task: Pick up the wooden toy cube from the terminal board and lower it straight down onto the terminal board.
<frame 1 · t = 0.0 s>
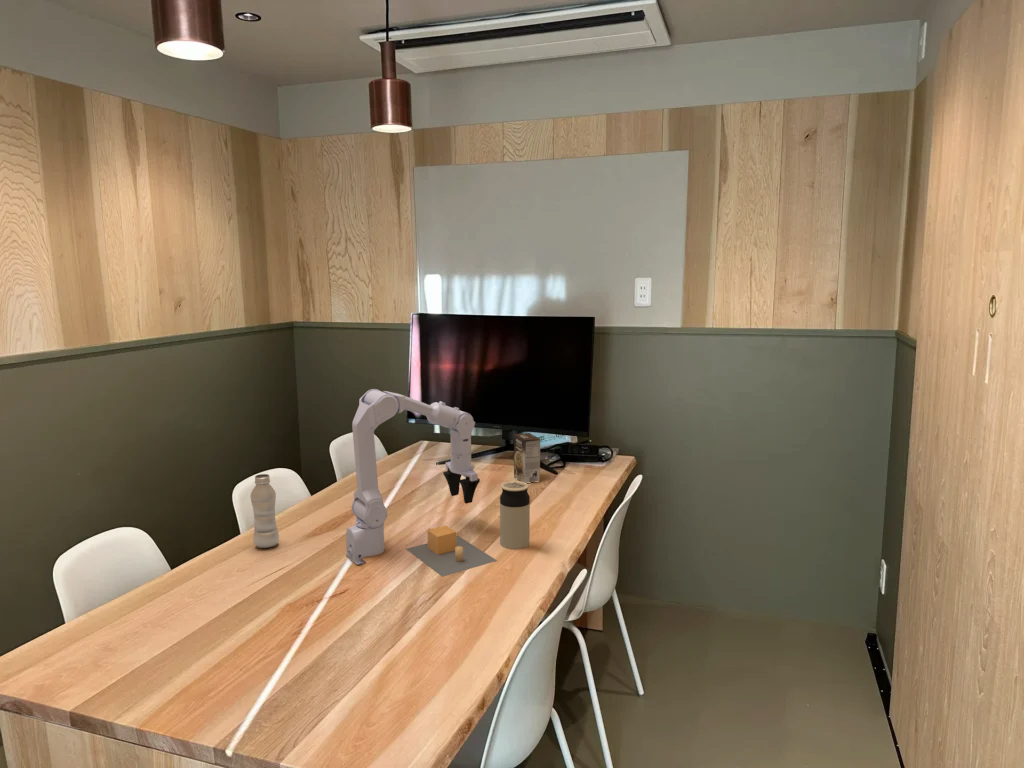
hand: (461, 498, 198), 10 cm above the table, tool pointing down, fingers open, 7 cm apart
wooden toy cube: (442, 548, 184), point 1 cm above the table, touching terminal board
plastic bottle: (266, 546, 190), on the table
travel mug: (514, 549, 188), on the table
terminal board: (450, 559, 181), on the table
coffee box: (526, 480, 248), on the table
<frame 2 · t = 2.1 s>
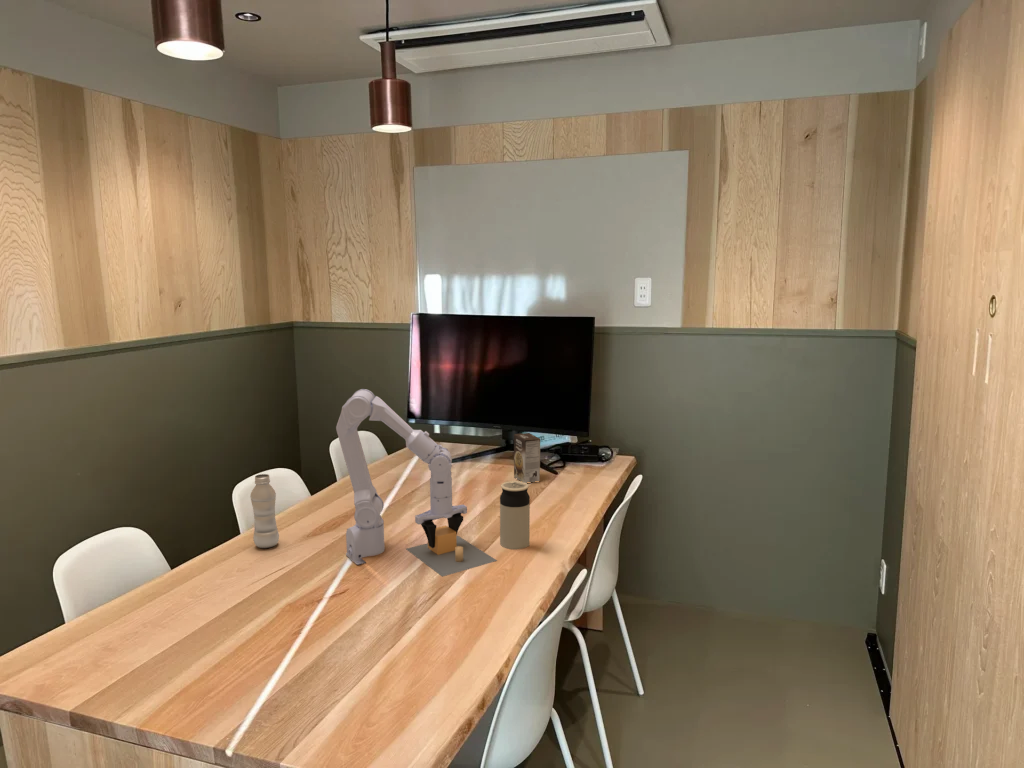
hand: (442, 543, 184), 3 cm above the table, tool pointing down, fingers closed on wooden toy cube, 6 cm apart
wooden toy cube: (442, 548, 184), point 1 cm above the table, touching gripper, terminal board
everything else where it was.
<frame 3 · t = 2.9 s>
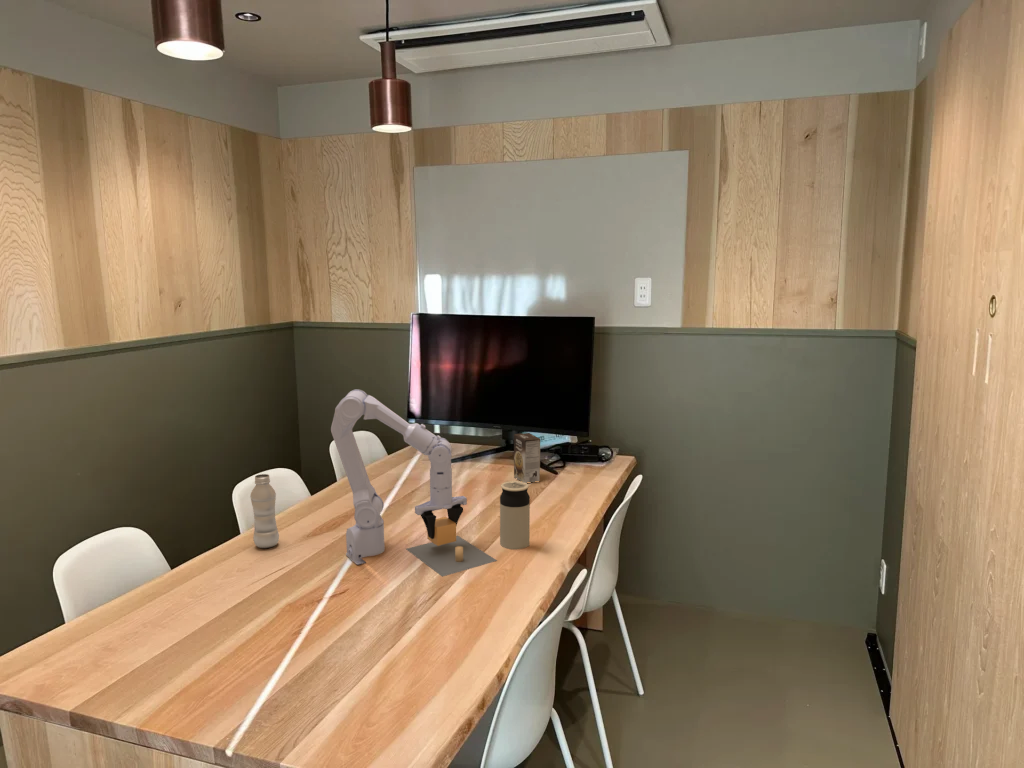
hand: (441, 534, 184), 5 cm above the table, tool pointing down, fingers closed on wooden toy cube, 6 cm apart
wooden toy cube: (441, 539, 184), point 4 cm above the table, touching gripper
everything else where it was.
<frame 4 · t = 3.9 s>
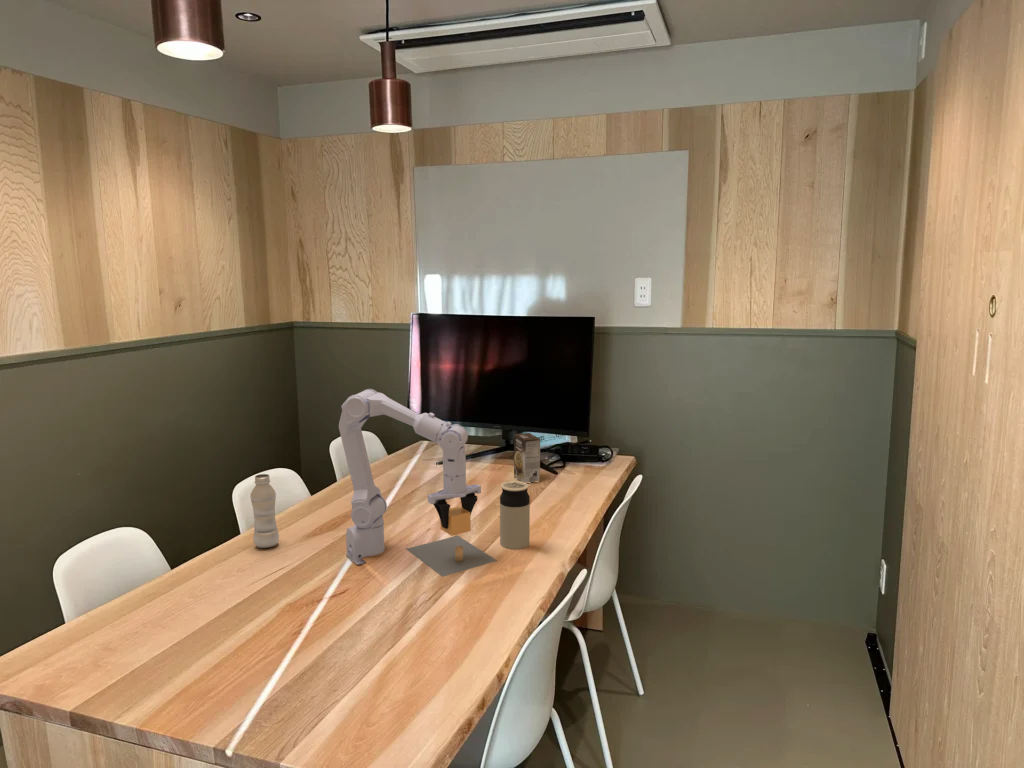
hand: (455, 524, 177), 11 cm above the table, tool pointing down, fingers closed on wooden toy cube, 6 cm apart
wooden toy cube: (455, 529, 177), point 9 cm above the table, touching gripper
everything else where it was.
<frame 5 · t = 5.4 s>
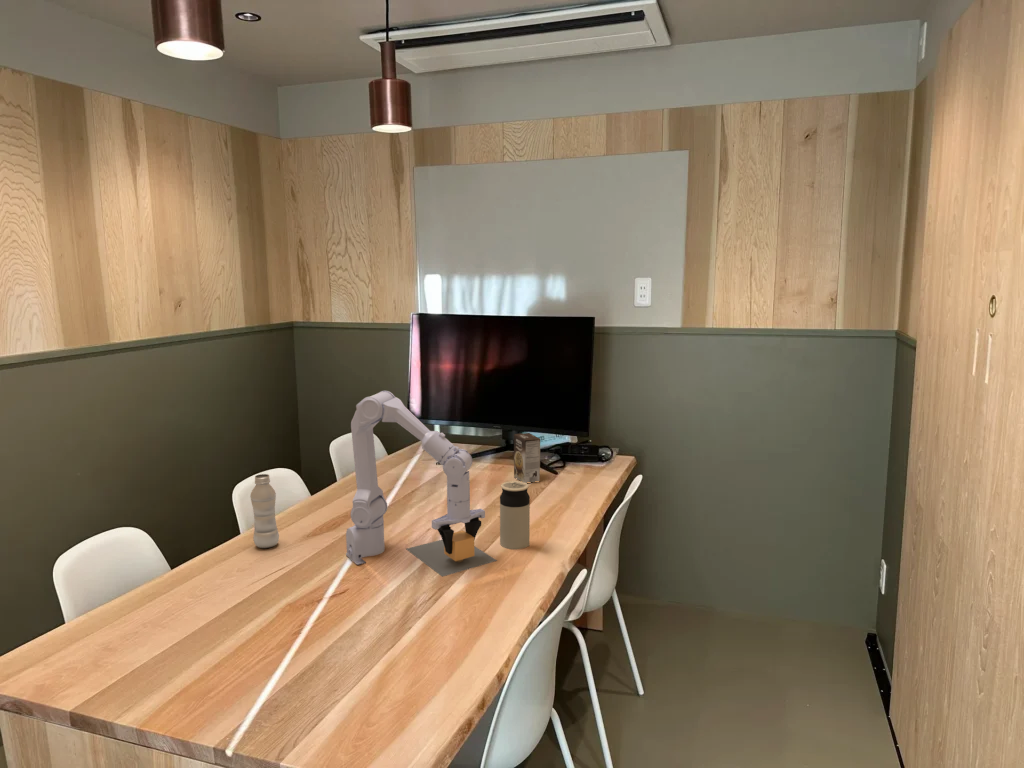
hand: (459, 549, 176), 4 cm above the table, tool pointing down, fingers closed on wooden toy cube, 6 cm apart
wooden toy cube: (459, 554, 177), point 3 cm above the table, touching gripper
everything else where it was.
when the fingers open (4 cm above the table, at t = 6.2 s): wooden toy cube drops 1 cm, resting on terminal board.
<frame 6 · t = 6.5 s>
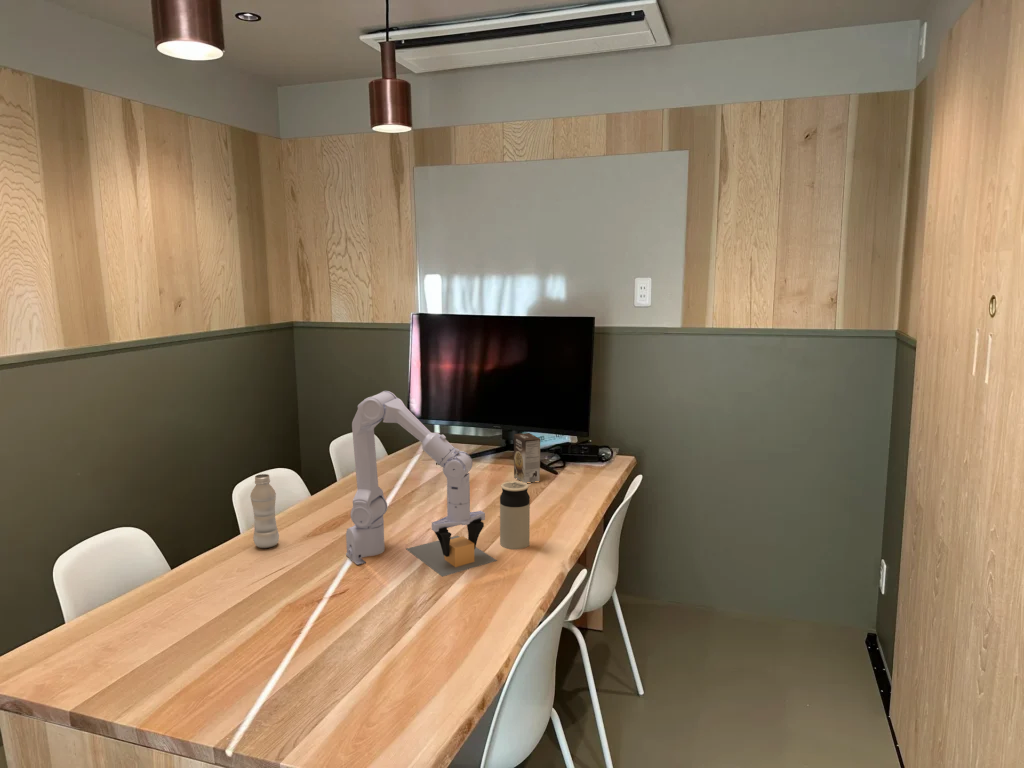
hand: (459, 551, 177), 4 cm above the table, tool pointing down, fingers open, 7 cm apart
wooden toy cube: (459, 560, 177), point 1 cm above the table, touching terminal board
everything else where it was.
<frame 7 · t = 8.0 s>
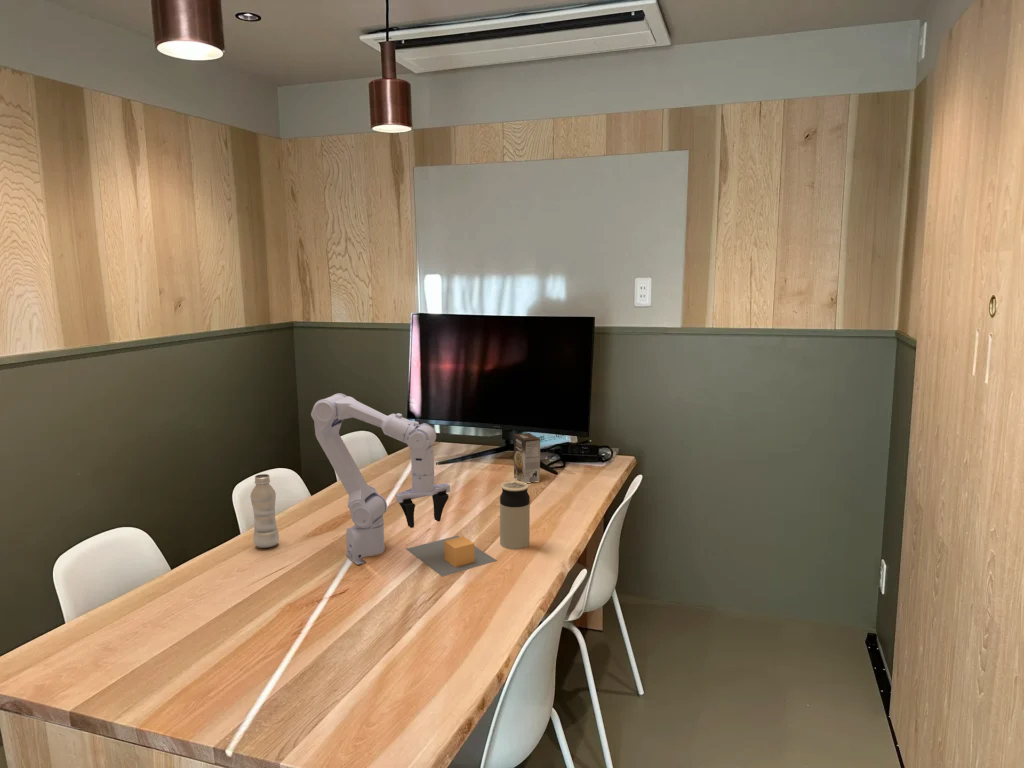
hand: (424, 523, 178), 10 cm above the table, tool pointing down, fingers open, 7 cm apart
nothing on the table moved.
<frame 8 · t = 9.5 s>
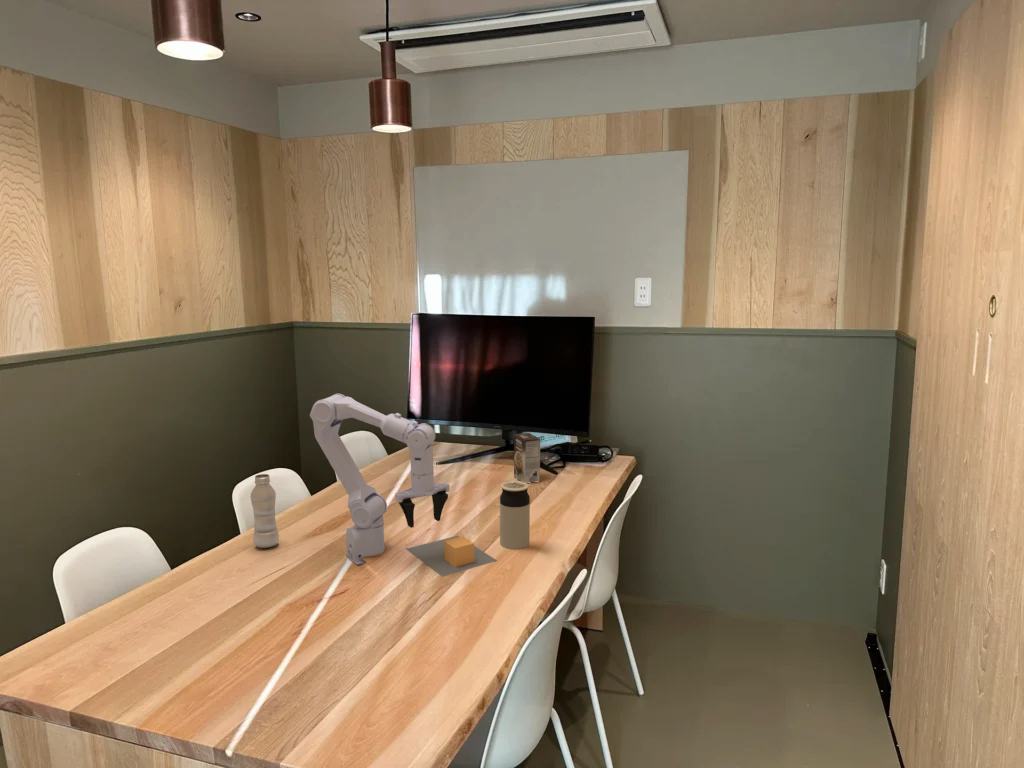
hand: (424, 523, 178), 10 cm above the table, tool pointing down, fingers open, 7 cm apart
nothing on the table moved.
at the end: wooden toy cube 0.0 cm from the target spot on the terminal board, point 1.5 cm above the terminal board's base; wooden toy cube tilted 0°; the gripper is holding nothing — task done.
